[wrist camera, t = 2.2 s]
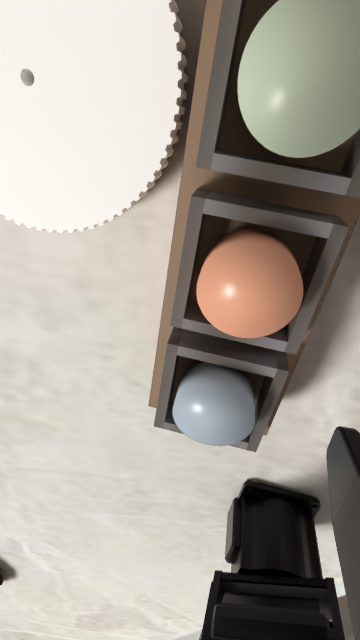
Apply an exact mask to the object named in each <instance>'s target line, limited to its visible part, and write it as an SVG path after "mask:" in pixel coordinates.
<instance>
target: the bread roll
mask: <svg viewBox="0 0 360 640" xmlns="http://www.w3.org/2000/svg"><path fill="white" fill-rule="evenodd" d="M2 583H3V576H2V571H1V569H0V585H2Z"/></svg>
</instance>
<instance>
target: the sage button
mask: <svg viewBox="0 0 360 640" xmlns="http://www.w3.org/2000/svg"><path fill="white" fill-rule="evenodd" d="M238 101H239V106H240V110H241V113H242V116H243V119H244V121H245V123H246V126H247V128H248V129H249V131H250V132H251V134H252V135H253V136H254V137H255V138H256V140H257V141H258V142H259V143H261V144H262V145H263V146H264V147H265V148H267V149H269V150H270V151H272V152H274V153H277V154H279V155H283V156H286V157H294V158H305V157H311V156H316V155H319V154H323V153H325V152H327V151H330V150H332V149H334V148H336V147H337V146H339V145H341V144H342V143H344V142H345V141H346V140H348V139H349V138H350V137H351V136H352V135H353V134H355V133H356V132H357V131H358V130H359V129H360V0H279V1H278V2H276V3H275V4H274V5H273V6H272V7H271V8H270V9H269V10H268V11H267V12H266V13H265V15H264V16H263V17H262V19H261V20H260V21H259V22H258V24H257V26H256V27H255V29H254V30H253V32H252V34H251V36H250V38H249V40H248V42H247V44H246V47H245V49H244V52H243V55H242V59H241V63H240V67H239V74H238Z"/></svg>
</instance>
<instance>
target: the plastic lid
mask: <svg viewBox="0 0 360 640" xmlns="http://www.w3.org/2000/svg"><path fill="white" fill-rule="evenodd" d="M178 12H179V10H178V6H177V4H176V2H175V1H174V0H0V215H4V216H5V219H6V220H8V221H11V220H14V221H15V222H16V224H18V225H22V224H25V225H26V227H27V228H30V229H31V228H33V227H36V229H37V230H38V231H43V230H45V229H46V230H47V231H48V232H50V233H52V232H54V231H56V230H57V231H58V233H64V232H65V231H68V232H69V233H73V232H75V231H76V230H79V232H81V231H84V230H86V229H87V228H89V229H93V228H95V227H96V226H98V225H99V226H101V225H103V224H105V223H106V222H108V221H112V220H113V219H115V218H116V217H118V216H120V215H121V214H123V213H124V212H125V211H127V210H128V209H130V208H131V207H132V206H133V205H135V204H136V203H138V202H139V201H140V199H141V198H142V197H144V196H145V195H146V194H147V193H148V192H147V190H149V189H150V188H152V187H153V186H154V185H155V182H154V181H155V180H156V179H158V178H160V176H161V175H162V172H161V169H163V168H165V167H166V166H167V164H168V161H167V157H169V156H171V155H172V154H173V152H174V150H173V149H172V146H173V144H174V143H177V141H178V136H177V135H176V133H177V130H178V129H181V127H182V122H180V117H181V115H184V112H185V108H184V107H183V106H182V104H183V100H184V99H186V97H187V92H186V91H184V84H185V83H187V75H186V74H185V73H184V67H185V66H187V58H186V57H185V56H184V55H183V49H185V48H186V45H185V40H184V39H183V38H182V37H181V35H180V32H181V31H182V30H183V27H182V22H181V21H180V20H179V18H178V17H177V15H176V14H177V13H178Z"/></svg>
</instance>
